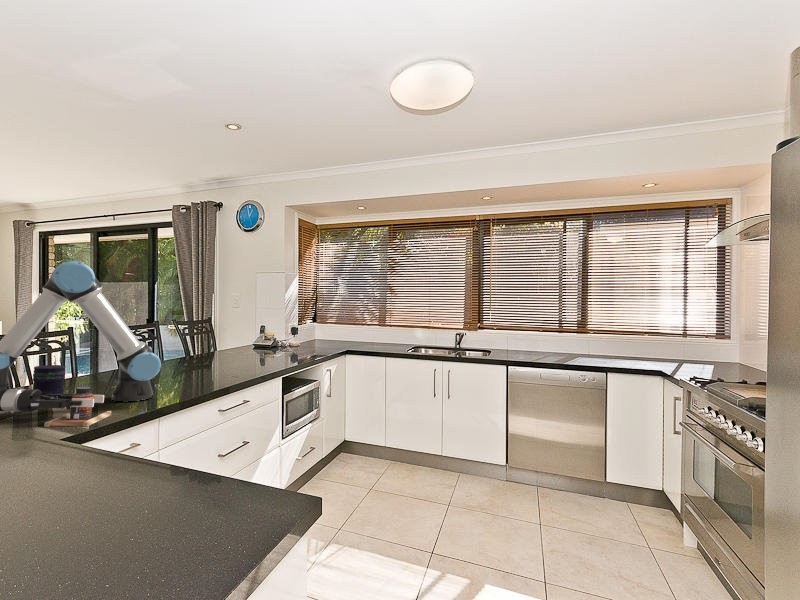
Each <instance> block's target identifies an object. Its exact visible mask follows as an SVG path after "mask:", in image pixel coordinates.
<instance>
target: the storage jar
mask: <svg viewBox="0 0 800 600" xmlns="http://www.w3.org/2000/svg"><path fill="white" fill-rule="evenodd" d="M32 377H33V378H32V381H33V384H32V385H33V387H32V389H38V390H40V391H41V392H42V394H43V395H45V394H56V393H61V394H65V393H64V380H65V378H66V365H65V364H64V365H63V364H51V365H50V364H46V365H44V364H43V365H36V366H34V367H33V375H32Z"/></svg>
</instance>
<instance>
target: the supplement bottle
mask: <svg viewBox="0 0 800 600" xmlns="http://www.w3.org/2000/svg"><path fill="white" fill-rule="evenodd" d="M72 394H73V396H72V399H93V395H94V394H93V393H92V392H91V387H90V386H79V387H76V390H75V393H72ZM69 413H70V418H69V420H90V419H92V413H93V407H71V406H70V412H69Z"/></svg>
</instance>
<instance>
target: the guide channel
mask: <svg viewBox="0 0 800 600" xmlns="http://www.w3.org/2000/svg"><path fill="white" fill-rule="evenodd" d="M110 416H112V410H107V411H105V412H103V413H101V414H98V415H97V416H94V417H91V418H90V419H88V420H70V412H67V413H66V414H63V415H60V416H58V417H55V418H53V419H50V420H47V421H45V422H44V423H43V424H44V425H43V426H44V428H49V427H59V426H60V427H64V426H65V427H66V426H67V427H69V426H71V427H72V426H74V427H77V426H78V427H79V426H82V427H83V428H88V427H89V426H91V425H93V424H95V423H98V422H99V421H102V420H103V419H106V418H108V417H110ZM68 419H69V420H68Z"/></svg>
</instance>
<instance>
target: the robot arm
mask: <svg viewBox="0 0 800 600" xmlns="http://www.w3.org/2000/svg"><path fill="white" fill-rule="evenodd" d="M95 275H96V274H95V272H94V270H93V269H92V268H91V267H90V266H89V265H88V264H86V263H84V262H81V261H77V260H75V261H74V260H69V261H65V262H62V263H61V264H59V265H57V266H56V267H55V269H54V270H53V271H52V273H51V275H50V277H49V279H48V280H47V282H46V283H45V284H44V286H42V292H41V294H40V295H39V296H38V297H37V298H36V299H35V301H33V303H32V304H31V305H30V306H29V307H28V308H27V310H26V311H25V312H24V313H23V314H22V315H21V316H20V317H19V319H18V320H17V321H16V322H15V324H14V325H12V327H11V328H10V329H9V330H8V331H7V333H6V334H5V335H4V336H3V337H2V338H1V340H0V412H10V413H11V414H13V413H15V412H24V413H25V412H28V413H29V412H35V411H37V410H39V409H61V410H62V409H65V408H66V409H65V410H71V407H92V408H94V406H95V404H103V403H104V401H105V395H104V394H93V399H72V396H73V394H74V393H64V394H61V393H56V394H45V395H43V394H42V392H41V391H40V390H38V389H33V388H32V389H30V388H27V389H26V388H7V387H8V377H9V369H10V368H11V366H12V365H13V364H14V363H15V362H16V361H17V359H18V358H19V357H20V355H21V354H22V353H23V352H24V351H25V350H26V348H27V347H28V346H29V345H30V344H31V342H33V340H34V339H35V338H36V336H38V335H39V333H40V332H41V331H42V330H43V328H44V327H45V326H46V325H47V323H49V321H50V320H51V319H52V318H53V317H54V315H55V314H56V313H57V312H58V311H59V310H60V308H61V307H62V306H63V305H64V303H67V302H69V303H71V304H76V305H78V307H80V309H81V310H82V312H84V314H85V315H86V316H87V318H88V319H89V320H90V322H91V323H92V324H93V325H94V327H96V329H97V330H98V332H99V333H100V334H101V335H102V336H103V337H104V339H105V340H106V341H107V342H108V343H109V345H110V346H111V347H112V349H113V350H114V351H115V352H116V353H117V356H116V360H117V362H118V363H119V366H118V379H117V383H116V386H115V387H114V390H113V392H112V394H111V401H112V400H114V401H113V402H115V401H123V402H122V403H129V402H128V401H137V400H142V399H146V398H149V397H151V396H152V395H153V396H154V392H153V388H152V385H151V382H150V381H151V380H152V379H153V378H155V377H157V375H158V374H160V373H159V372H161V368H162V362H161V358H160V357H159V356H158V355H157V354H156V353H154V352H153V349H152V347H151V346H149V345H148V344H147V343H146V342H144V341H140V340H139V339H138V338H137V337H136V336H135V334H134V333H133V331H132V330H131V329H130V328H129V326H128V325H127V323H126V322H125V321H124V319H122V317H121V315H120V314H119V313H118V312H117V311H116V309H115V308H114V306H113V305H112V304H111V303H110V301H109V300H108V299H107V297H106V296H105V295H104V294H103V292H102V290H103V285H102V284H101V283H100V281H99V280H98V278H97V277H96V276H95Z"/></svg>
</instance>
